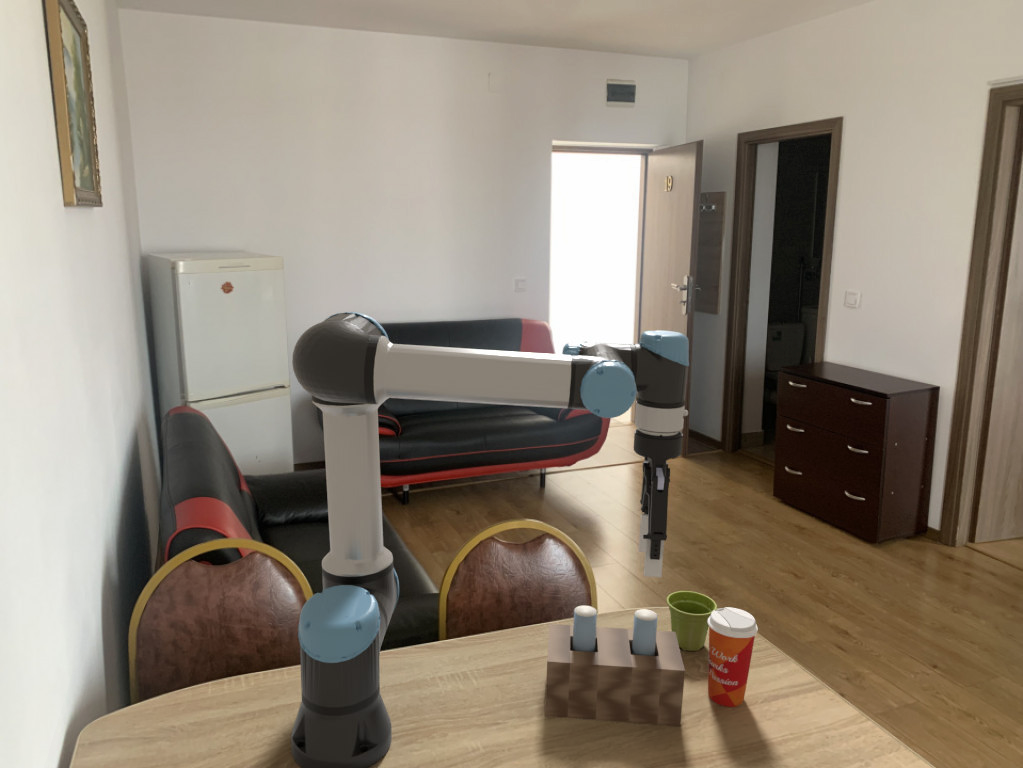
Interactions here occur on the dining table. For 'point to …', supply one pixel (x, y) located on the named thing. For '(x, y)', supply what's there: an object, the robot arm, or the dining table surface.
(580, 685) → the collar block
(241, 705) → the dining table surface
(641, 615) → the peg
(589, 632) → the peg
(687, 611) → the plant pot
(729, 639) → the coffee cup
